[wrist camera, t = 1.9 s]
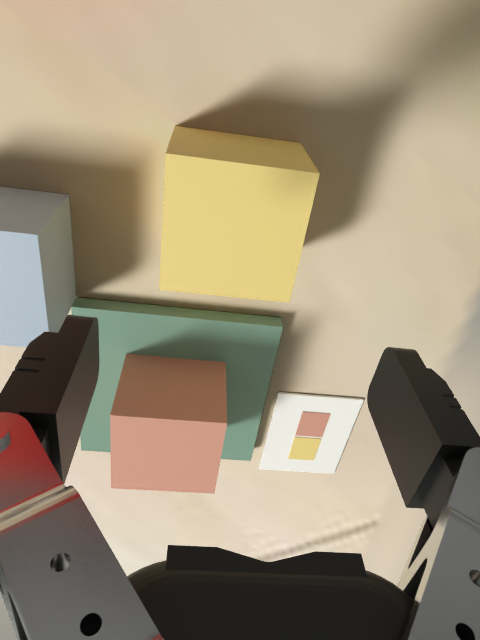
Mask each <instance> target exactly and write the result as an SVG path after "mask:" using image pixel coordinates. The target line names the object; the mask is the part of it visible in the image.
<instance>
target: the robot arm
mask: <svg viewBox="0 0 480 640" xmlns="http://www.w3.org/2000/svg"><path fill="white" fill-rule="evenodd" d="M98 375H99V325H98V319H97V318H96V317H86V316H76V315H67V316H66V318H65V320H64V322H63V324H62V326H61V328H60V330H59V332H58V333H55V332H43V333H42V334H41V335H39V336H38V337H37V338H35V339H34V340H33V341H31V342H30V343H29V344H28V346H27V348H26V350H25V351H24V353H23V355H22V358H21V359H20V360H19V362H18V364H17V365H16V367H15V371H13V372H12V374H11V376H10V378H9V379H8V381H7V383H6V385H5V386H4V388H3V390H2V392H1V393H0V592H1V595H2V598H3V600H4V603H5V606H6V609H7V611H8V615H9V618H10V620H11V624H12V627H13V630H14V633H15V636H16V638H17V640H480V437H479V435H478V433H477V432H476V430H475V429H474V427H473V425H472V424H471V422H470V420H469V419H468V417H467V415H466V414H465V412H464V411H463V410H461V406H460V404H459V403H458V401H457V399H456V398H454V394H453V393H452V391H451V390H450V388H449V386H448V385H447V383H446V382H445V381H444V380H443V379H442V378H441V377H440V376H439V375H438V374H437V373H435V372H434V371H433V370H432V369H429V368H426V366H425V365H424V363H423V361H422V360H421V358H420V356H419V354H418V353H417V351H415V350H412V349H402V348H392V347H388V348H386V349H385V350H384V352H383V354H382V356H381V359H380V361H379V364H378V366H377V369H376V371H375V374H374V376H373V379H372V381H371V384H370V386H369V389H368V396H367V401H368V408H369V411H370V413H371V416H372V419H373V421H374V424H375V427H376V429H377V432H378V435H379V437H380V440H381V442H382V445H383V448H384V450H385V453H386V456H387V458H388V461H389V463H390V466H391V469H392V471H393V474H394V477H395V479H396V482H397V484H398V487H399V490H400V492H401V495H402V498H403V500H404V502H405V505H406V507H407V508H424V509H425V512H426V514H427V516H426V518H425V520H424V521H423V523H422V525H421V528H420V530H419V533H418V536H417V538H416V541H415V543H414V546H413V548H412V551H411V553H410V556H409V559H408V561H407V564H406V566H405V569H404V572H403V574H402V576H401V579H400V581H399V583H398V585H397V586H396V585H394V584H393V583H391V582H389V581H388V580H386V579H384V578H382V577H380V576H378V575H376V574H374V573H372V572H369V571H366V570H365V567H364V563H363V559H362V556H361V554H357V553H335V552H312V553H307V554H303V555H299V556H295V557H291V558H286V559H282V560H278V561H274V562H264V561H260V560H257V559H254V558H251V557H247V556H244V555H241V554H237V553H234V552H231V551H228V550H224V549H221V548H218V547H199V546H176V545H168V550H167V559H166V561H162V562H158V563H154V564H152V565H149V566H146V567H144V568H142V569H140V570H138V571H136V572H134V573H132V574H130V575H129V576H126V574H125V572H124V571H123V569H122V567H121V566H120V564H119V562H118V560H117V559H116V557H115V555H114V553H113V552H112V550H111V548H110V547H109V545H108V543H107V541H106V540H105V538H104V536H103V535H102V533H101V531H100V529H99V528H98V526H97V524H96V522H95V521H94V519H93V517H92V516H91V514H90V512H89V510H88V509H87V507H86V505H85V503H84V502H83V500H82V498H81V497H80V495H79V493H78V492H77V490H76V489H75V488H74V487H73V486H68V487H66V486H65V485H64V483H65V480H66V477H67V474H68V471H69V467H70V464H71V461H72V458H73V455H74V452H75V449H76V446H77V443H78V440H79V437H80V434H81V431H82V428H83V425H84V422H85V419H86V416H87V413H88V409H89V406H90V403H91V400H92V397H93V394H94V391H95V388H96V385H97V381H98Z"/></svg>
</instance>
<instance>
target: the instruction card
mask: <svg viewBox="0 0 480 640" xmlns="http://www.w3.org/2000/svg"><path fill="white" fill-rule="evenodd" d="M363 401H364V400H363V399H362V398H349V397H336V396H324V395H311V394H299V393H286V392H278V395H277V399H276V403H275V407H274V411H273V414H272V418H271V422H270V426H269V430H268V434H267V437H266V441H265V445H264V449H263V453H262V457H261V460H260V464H259V469H262V470H279V471H296V472H313V473H330V474H334V472H335V470H336V467H337V465H338V462H339V460H340V457H341V455H342V452H343V450H344V447H345V445H346V443H347V440H348V438H349V435H350V433H351V430H352V428H353V425H354V423H355V420H356V418H357V415H358V413H359V411H360V408H361V406H362V403H363Z"/></svg>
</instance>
